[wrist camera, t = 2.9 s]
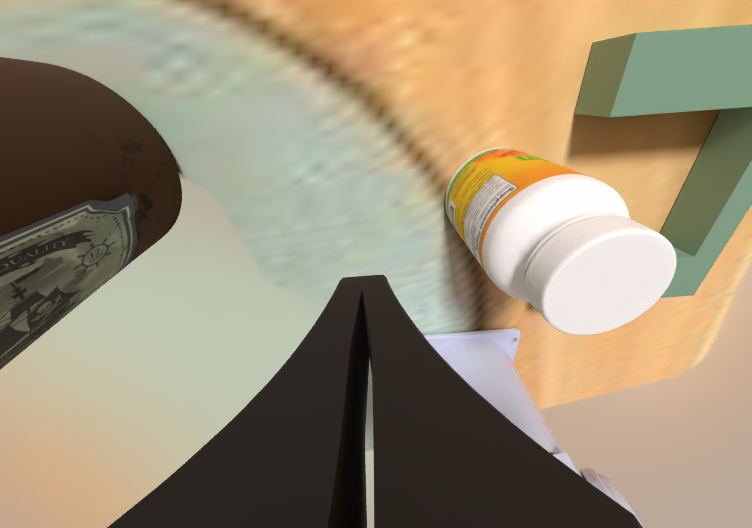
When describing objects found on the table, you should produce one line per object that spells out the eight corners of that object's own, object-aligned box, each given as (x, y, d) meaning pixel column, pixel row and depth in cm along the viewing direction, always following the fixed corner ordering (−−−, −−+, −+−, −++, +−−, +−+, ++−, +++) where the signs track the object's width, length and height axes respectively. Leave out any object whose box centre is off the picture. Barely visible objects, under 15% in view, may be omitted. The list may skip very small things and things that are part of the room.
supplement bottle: (553, 172, 17) (747, 251, 8) (495, 247, 19) (599, 367, 11) (479, 127, 15) (622, 169, 7) (426, 214, 18) (485, 322, 9)
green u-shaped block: (659, 274, 21) (693, 295, 19) (529, 284, 21) (549, 306, 19) (791, 28, 14) (872, 15, 11) (592, 42, 13) (636, 32, 11)
